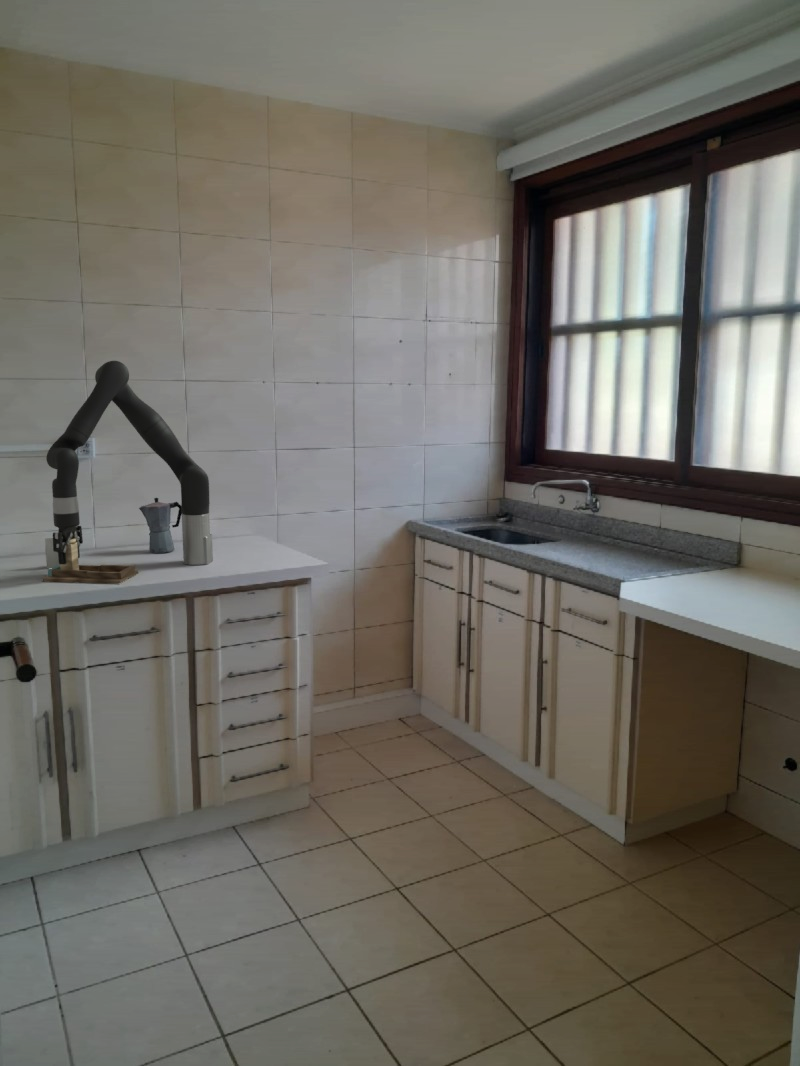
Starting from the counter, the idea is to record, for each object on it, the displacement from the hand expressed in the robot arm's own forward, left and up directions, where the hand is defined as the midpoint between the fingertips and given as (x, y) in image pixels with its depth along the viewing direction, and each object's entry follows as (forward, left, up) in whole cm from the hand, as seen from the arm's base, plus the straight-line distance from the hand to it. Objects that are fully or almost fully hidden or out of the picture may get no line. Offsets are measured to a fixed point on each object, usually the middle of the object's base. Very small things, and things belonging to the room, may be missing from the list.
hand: (69, 561), depth 255 cm
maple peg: (0, 0, -4) cm, 4 cm away
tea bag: (+11, -13, -5) cm, 18 cm away
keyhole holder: (-7, 0, -5) cm, 9 cm away
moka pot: (-14, -42, -5) cm, 45 cm away
